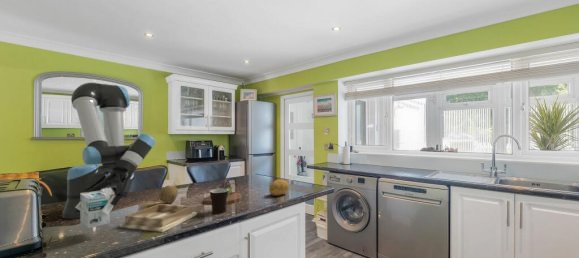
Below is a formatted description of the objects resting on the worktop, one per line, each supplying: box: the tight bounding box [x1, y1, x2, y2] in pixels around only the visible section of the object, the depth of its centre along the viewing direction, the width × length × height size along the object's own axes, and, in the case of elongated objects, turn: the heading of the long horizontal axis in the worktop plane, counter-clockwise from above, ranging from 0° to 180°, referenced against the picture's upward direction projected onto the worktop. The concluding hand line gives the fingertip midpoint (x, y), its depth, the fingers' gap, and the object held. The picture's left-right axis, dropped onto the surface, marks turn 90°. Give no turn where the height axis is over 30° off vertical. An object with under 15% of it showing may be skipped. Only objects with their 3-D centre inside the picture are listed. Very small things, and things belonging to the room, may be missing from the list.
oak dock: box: [119, 203, 198, 233], centre depth 111 cm, size 21×21×4 cm
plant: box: [203, 179, 242, 205], centre depth 145 cm, size 20×20×11 cm
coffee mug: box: [209, 188, 228, 214], centre depth 124 cm, size 12×9×10 cm
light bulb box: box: [79, 190, 111, 229], centre depth 95 cm, size 11×7×11 cm, turn 52°
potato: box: [268, 178, 289, 197], centre depth 154 cm, size 10×13×9 cm
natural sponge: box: [159, 184, 179, 205], centre depth 137 cm, size 9×9×10 cm
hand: (91, 211), depth 94 cm, fingers closed on light bulb box, 12 cm apart
